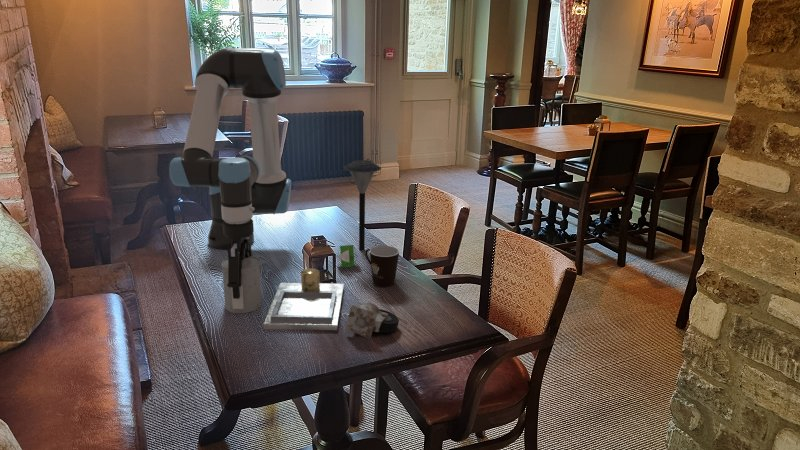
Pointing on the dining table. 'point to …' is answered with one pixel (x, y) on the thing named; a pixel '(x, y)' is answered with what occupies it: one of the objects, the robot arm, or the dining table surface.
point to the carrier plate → (306, 304)
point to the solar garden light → (362, 190)
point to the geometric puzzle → (347, 256)
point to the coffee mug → (383, 265)
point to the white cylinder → (244, 285)
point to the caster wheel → (370, 320)
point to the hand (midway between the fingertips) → (243, 299)
